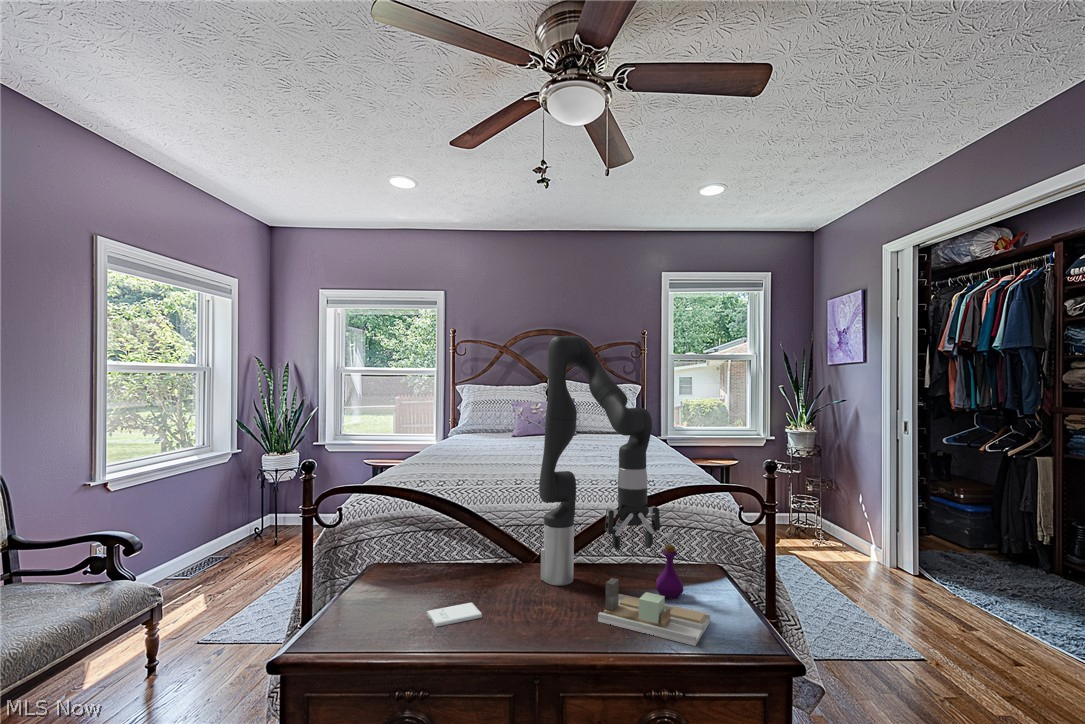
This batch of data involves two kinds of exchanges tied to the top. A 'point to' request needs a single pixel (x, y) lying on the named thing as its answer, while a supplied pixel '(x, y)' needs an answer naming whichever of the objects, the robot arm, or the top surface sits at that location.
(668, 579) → the perfume bottle
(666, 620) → the tan slider with post
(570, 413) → the robot arm
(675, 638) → the lane board
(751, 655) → the top surface
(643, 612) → the block
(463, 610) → the external hard drive
